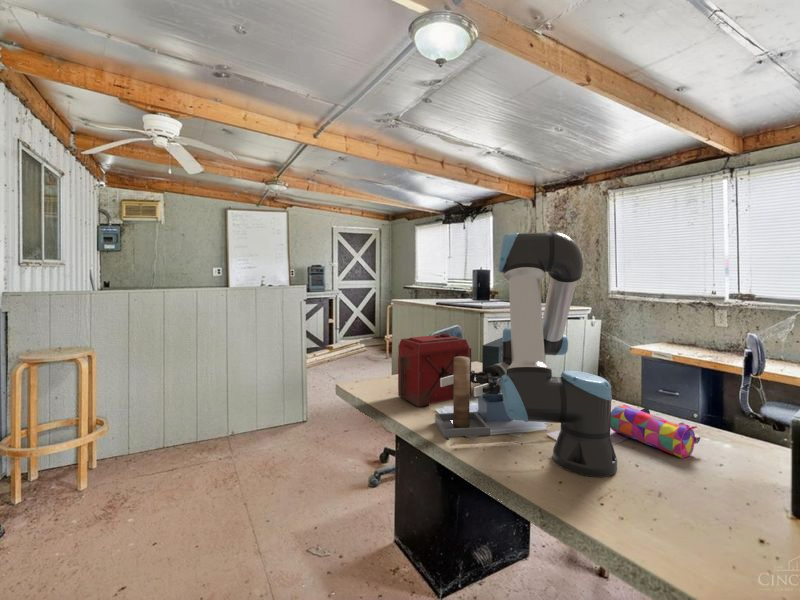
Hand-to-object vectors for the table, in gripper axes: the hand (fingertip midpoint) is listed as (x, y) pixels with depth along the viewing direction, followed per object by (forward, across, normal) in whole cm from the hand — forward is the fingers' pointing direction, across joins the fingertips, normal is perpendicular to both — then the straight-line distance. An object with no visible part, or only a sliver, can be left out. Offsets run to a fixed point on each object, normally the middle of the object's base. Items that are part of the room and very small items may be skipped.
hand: (457, 387), depth 122 cm
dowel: (-2, 0, -13) cm, 13 cm away
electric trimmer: (-52, -35, -15) cm, 64 cm away
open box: (-18, -2, -14) cm, 23 cm away
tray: (-2, 0, -14) cm, 14 cm away
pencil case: (-35, -44, -14) cm, 58 cm away
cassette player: (-54, +20, -14) cm, 59 cm away
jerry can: (-18, +28, -14) cm, 37 cm away
